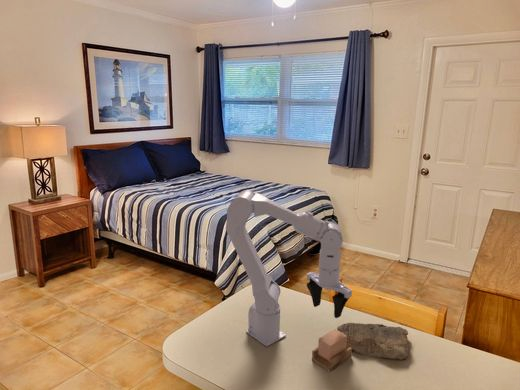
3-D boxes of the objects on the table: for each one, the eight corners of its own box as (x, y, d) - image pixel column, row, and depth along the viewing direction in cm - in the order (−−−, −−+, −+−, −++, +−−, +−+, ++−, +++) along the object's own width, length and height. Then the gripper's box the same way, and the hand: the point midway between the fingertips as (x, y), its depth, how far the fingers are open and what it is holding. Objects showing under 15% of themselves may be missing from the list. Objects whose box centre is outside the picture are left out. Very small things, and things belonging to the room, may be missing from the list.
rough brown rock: (333, 351, 107) (409, 366, 101) (334, 336, 106) (411, 349, 100) (339, 325, 120) (407, 337, 114) (340, 311, 119) (408, 322, 113)
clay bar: (329, 361, 99) (330, 346, 98) (317, 353, 102) (318, 338, 101) (346, 350, 104) (347, 335, 103) (334, 343, 107) (335, 329, 106)
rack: (329, 371, 98) (330, 362, 98) (311, 359, 103) (312, 350, 102) (351, 357, 104) (351, 348, 103) (333, 346, 108) (333, 337, 108)
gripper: (360, 271, 102) (356, 316, 105) (318, 255, 113) (316, 296, 116) (343, 279, 98) (340, 326, 101) (302, 261, 108) (301, 304, 112)
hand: (326, 310), depth 108 cm, fingers open, 7 cm apart
